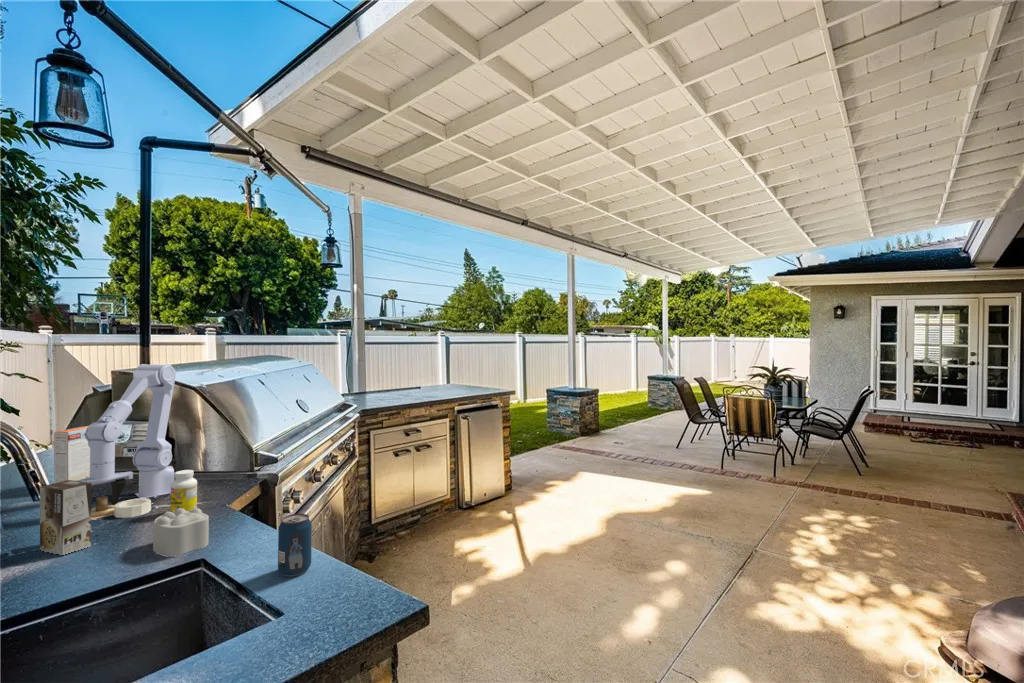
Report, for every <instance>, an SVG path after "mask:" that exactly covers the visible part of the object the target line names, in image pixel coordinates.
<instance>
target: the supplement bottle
mask: <svg viewBox="0 0 1024 683" xmlns="http://www.w3.org/2000/svg"><path fill="white" fill-rule="evenodd" d="M194 472H195V471H194V470H193V469H183V470H179V471H178V470H177V471H174V481H173V482H172V483H171V493H170V500H169V501H170V506H169V507H170V509H169V512H173V511H175V510H177V509H180V508H183V509H185V510H186V511H190V510H192V509H194V508H198V480H197V479H196V478H194Z"/></svg>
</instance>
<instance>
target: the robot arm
mask: <svg viewBox="0 0 1024 683" xmlns="http://www.w3.org/2000/svg"><path fill="white" fill-rule="evenodd" d="M176 375H177V371H176V370H175V368H174V367H173V366H172V365H171V364H169V363H168V364H166V363H165V364H147V363H141V364H139V365H138V366H137V367H136V369H135V370H134V371H133V372H132V376H133V377H132V378H133V379H132V380H131V382H130V383H129V385H128V386H127V388H126V389H125V391H124V393H123V394H122V396H121V397H120V399H119V400H114V401H113V402H111V403H110V404H108V407H107V409H106V410H105V411H104V412H103V414H102V415H101V416H100V417H99V418H98V420H97V421H96V422H95V421H94V422H92V423H91V424H89V425H87V426H88V428H87V430H86V433H84V436H85V438H86V440H87V441H88V446H89V447H90V477H89V478H85V479H81V480H77V481H81V482H88V483H92V486H95V485H96V486H97V485H102V484H107V483H110V484H111V505H116V504H117V503H119V499H120V496H121V493H122V492H123V490H124V488H125V487H126V485H127V480H130V479H134V474H133V473H134V472H133V471H132V470H131V471H125V472H122V471H121V472H117V473H115V470H116V466H115V465H116V462H115V461H116V459H115V458H116V440H117V439H119V437H120V436H121V433H122V428H123V423H125V421H126V420H127V418H129V416H130V415H131V413H132V412H133V407H132V405H133V404H134V403H135V401H136V400H137V399H139V397H140V396H141V395H142V394H143V393H144V392H145V390H146V389H147V388H148V389H150V390H151V392H152V393H153V395H152V399H151V407H150V411H149V416H148V422H147V427H146V433H145V439H144V440H142V441H141V442H140V443H138V444H137V446H136V450H135V452H134V453H133V456H132V464H133V466H135V467H136V470H137V471H138V492H136V493H134V495H136V496H137V497H138V499H140V498H146V499H148V498H152V497H157V496H161V495H167V494H171V483H172V482H173V481H175V469H174V467H173V466H172V465H170V464H171V462H172V459H173V454H172V453H173V452H172V444H171V443H170V442H169V441H167V440H166V435H167V429H168V422H169V417H170V412H171V407H172V406H171V405H172V399H173V393H174V388H175V382H176ZM93 492H94V489H93V488H92V494H91V511H92V508H93V504H92V503H93V502H92V498H93Z"/></svg>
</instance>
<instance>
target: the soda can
mask: <svg viewBox="0 0 1024 683" xmlns="http://www.w3.org/2000/svg"><path fill="white" fill-rule="evenodd" d="M312 529H313V528H312V522H311V520H310V516H309V515H308V514H306V513H295V514H294V513H292V514H289V515H285V516H284V517H282V519H281V522H280V524H279V526H278V530H277V531H278V532H277V534H278V538H277V540H278V541H277V542H278V543H277V547H278V550H277V555H278V556H277V569H278V571H279V572H280V574H281V575H282V576H284V577H297V576H301V575H302V574H305V573H306V572H307V571H308V570H309V568H310V566H311V564H312V534H313V533H312V531H313V530H312Z"/></svg>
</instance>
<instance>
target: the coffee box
mask: <svg viewBox="0 0 1024 683" xmlns="http://www.w3.org/2000/svg"><path fill="white" fill-rule="evenodd" d="M92 487H93V485H92V483H88V482H81V481H73V480H67V481H62V482H58V483H51V484H47V485H46V484H45V485H42V486H40V487H39V551H40V550H41V551H40V552H42V551H44V552H43V553H47V552H49V553H48V554H51V553H53V555H56V554H59V555H58V556H61V555H64V556H66V555H65V554H67V555H69V554H68V553H70V554H72V553H71V552H73V553H75V552H74V551H76V552H79V551H81V549H82V550H85V549H87V547H88V548H91V546H92V520H91V494H92V495H93V492H92V489H93V488H92ZM84 548H85V549H84ZM78 550H79V551H78Z"/></svg>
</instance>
